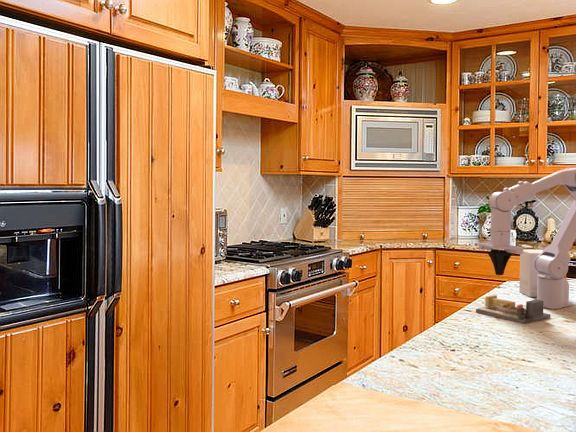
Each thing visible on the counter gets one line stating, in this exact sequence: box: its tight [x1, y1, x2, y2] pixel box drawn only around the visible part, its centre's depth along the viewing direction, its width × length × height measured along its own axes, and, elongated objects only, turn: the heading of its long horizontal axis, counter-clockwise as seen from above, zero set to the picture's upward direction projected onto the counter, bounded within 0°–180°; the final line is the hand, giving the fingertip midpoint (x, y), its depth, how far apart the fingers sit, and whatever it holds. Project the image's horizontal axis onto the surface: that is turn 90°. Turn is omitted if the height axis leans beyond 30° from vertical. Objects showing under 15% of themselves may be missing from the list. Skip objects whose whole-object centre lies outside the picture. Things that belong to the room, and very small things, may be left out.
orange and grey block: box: [516, 304, 525, 316], centre depth 153 cm, size 2×1×3 cm, turn 123°
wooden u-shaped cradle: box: [484, 294, 516, 309], centre depth 162 cm, size 6×8×3 cm
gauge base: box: [475, 299, 551, 325], centre depth 159 cm, size 12×16×5 cm
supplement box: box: [518, 249, 544, 298], centre depth 187 cm, size 9×9×15 cm
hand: (499, 274), depth 170 cm, fingers closed
